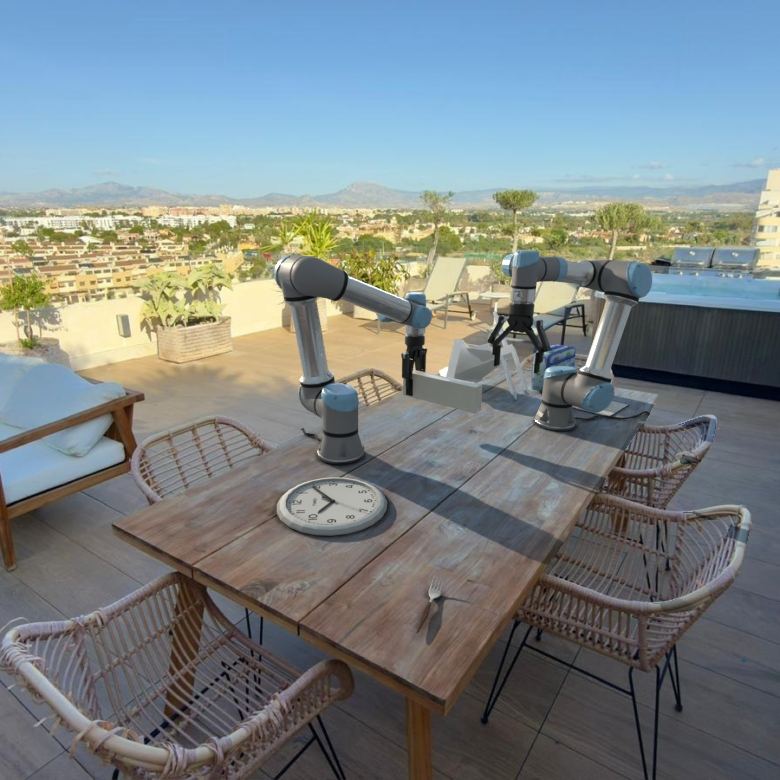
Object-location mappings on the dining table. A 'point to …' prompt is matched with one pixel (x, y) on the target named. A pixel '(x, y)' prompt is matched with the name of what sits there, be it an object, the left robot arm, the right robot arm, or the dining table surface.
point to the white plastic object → (482, 362)
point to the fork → (433, 594)
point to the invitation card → (610, 408)
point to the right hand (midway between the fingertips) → (515, 368)
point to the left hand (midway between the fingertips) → (413, 393)
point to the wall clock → (331, 506)
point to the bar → (446, 391)
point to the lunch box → (552, 363)
